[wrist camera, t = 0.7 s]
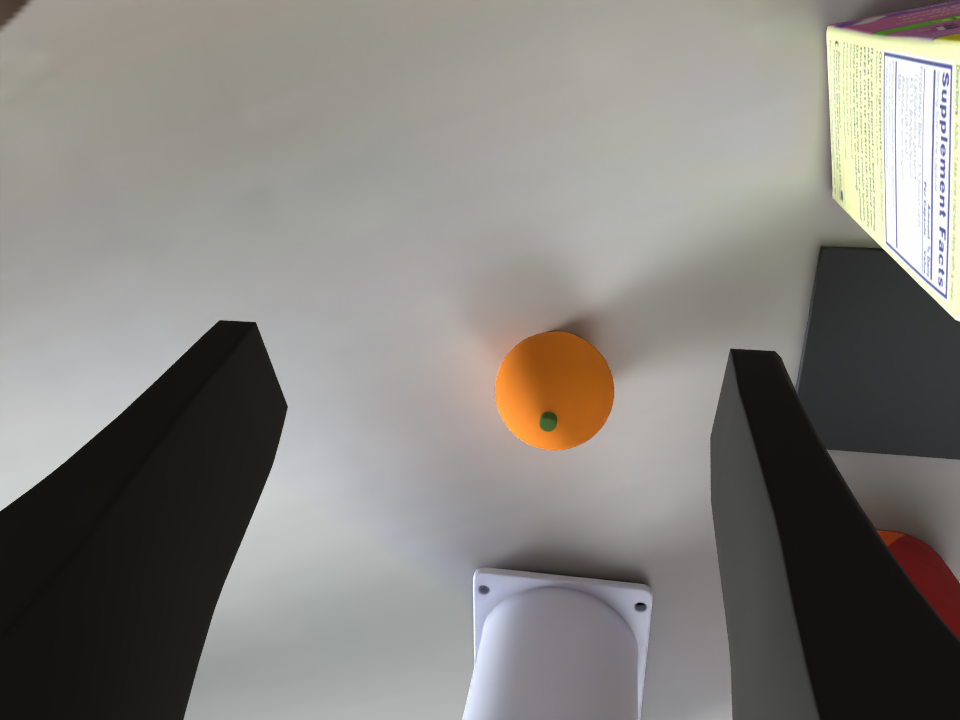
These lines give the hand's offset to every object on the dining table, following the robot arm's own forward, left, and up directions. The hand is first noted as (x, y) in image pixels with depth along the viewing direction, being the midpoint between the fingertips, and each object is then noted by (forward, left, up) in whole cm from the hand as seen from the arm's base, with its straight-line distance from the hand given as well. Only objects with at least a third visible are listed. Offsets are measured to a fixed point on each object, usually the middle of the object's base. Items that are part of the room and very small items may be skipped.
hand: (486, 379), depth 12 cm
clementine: (-8, 0, -18) cm, 20 cm away
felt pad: (-7, -13, -18) cm, 23 cm away
